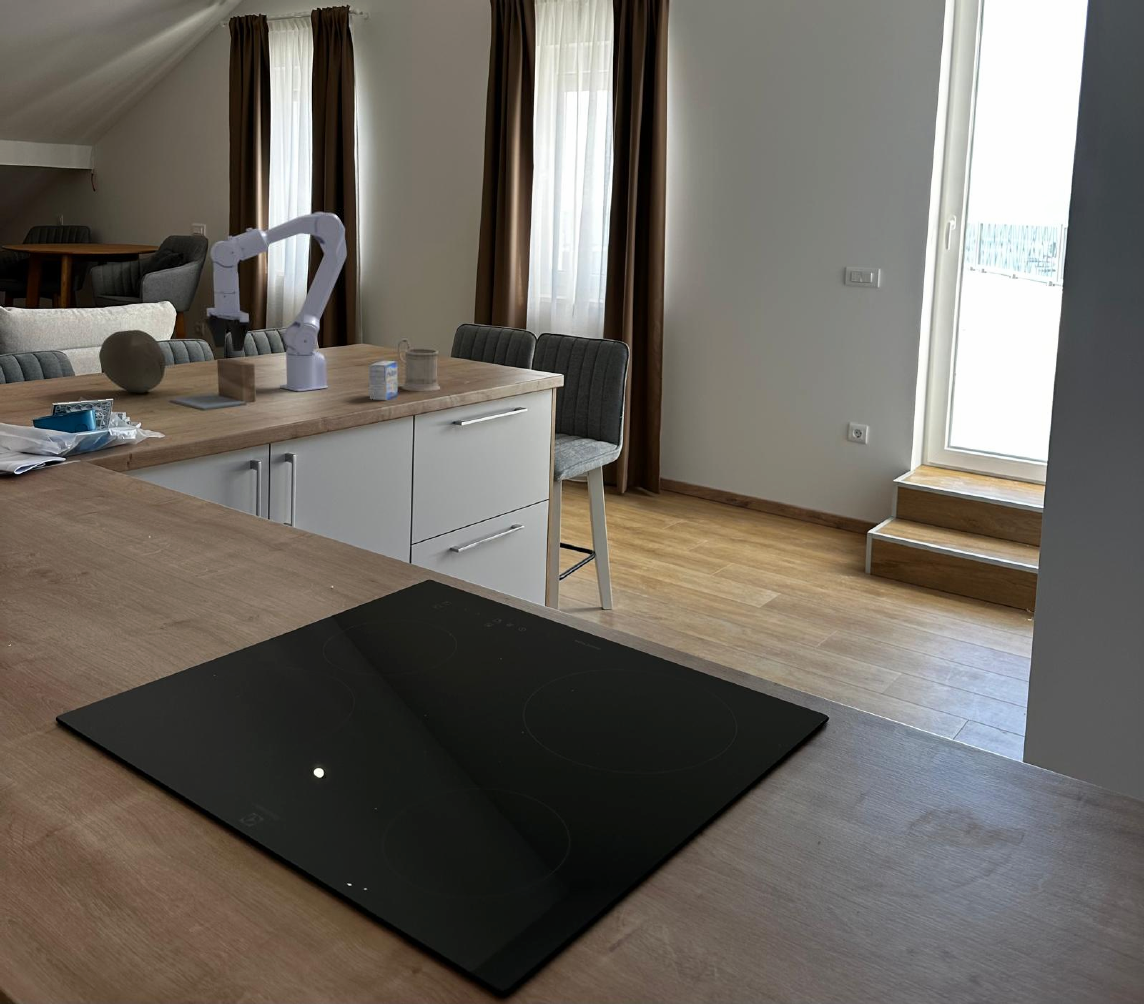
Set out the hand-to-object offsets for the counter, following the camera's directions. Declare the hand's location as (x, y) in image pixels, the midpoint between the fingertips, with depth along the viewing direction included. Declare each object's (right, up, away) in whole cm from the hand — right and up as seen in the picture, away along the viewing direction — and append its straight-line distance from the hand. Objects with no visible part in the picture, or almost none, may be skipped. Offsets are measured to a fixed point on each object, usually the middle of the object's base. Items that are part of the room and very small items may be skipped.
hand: (228, 349), depth 270 cm
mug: (+43, -7, +20) cm, 48 cm away
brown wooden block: (+4, -13, -7) cm, 15 cm away
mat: (-1, -14, -13) cm, 19 cm away
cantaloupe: (-21, -11, -5) cm, 24 cm away
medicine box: (+37, -12, +3) cm, 39 cm away
